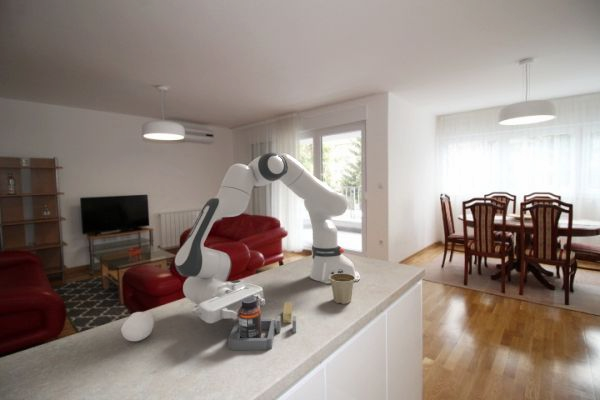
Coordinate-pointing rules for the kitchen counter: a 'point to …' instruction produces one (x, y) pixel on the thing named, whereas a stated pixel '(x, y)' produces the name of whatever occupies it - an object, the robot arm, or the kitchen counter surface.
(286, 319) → the bar
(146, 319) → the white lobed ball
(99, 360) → the kitchen counter surface
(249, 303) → the supplement bottle
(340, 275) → the flower pot
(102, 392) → the kitchen counter surface
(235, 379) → the kitchen counter surface
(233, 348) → the dock
